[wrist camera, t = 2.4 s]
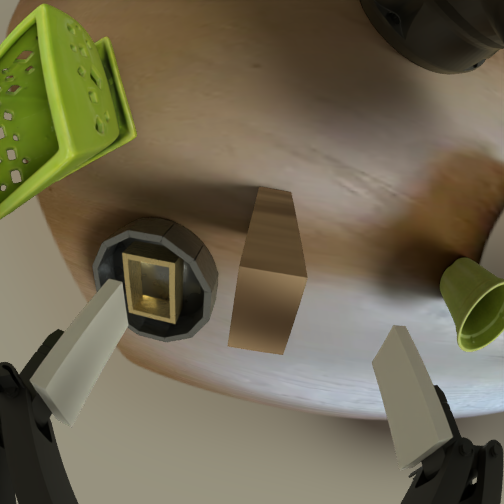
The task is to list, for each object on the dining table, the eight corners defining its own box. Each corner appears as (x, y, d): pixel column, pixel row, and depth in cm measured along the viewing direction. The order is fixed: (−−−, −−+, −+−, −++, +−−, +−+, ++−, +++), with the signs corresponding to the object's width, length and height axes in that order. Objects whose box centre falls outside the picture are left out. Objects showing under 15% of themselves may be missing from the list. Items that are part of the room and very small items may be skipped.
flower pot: (159, 140, 24) (75, 162, 13) (65, 189, 27) (-12, 231, 15) (124, 27, 18) (42, -5, 7) (37, 91, 21) (-43, 101, 10)
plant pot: (419, 311, 30) (446, 358, 23) (437, 244, 26) (477, 285, 18) (470, 304, 29) (498, 344, 22) (489, 244, 25) (528, 278, 17)
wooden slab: (259, 186, 25) (239, 266, 12) (291, 192, 25) (307, 278, 12) (251, 235, 28) (227, 346, 14) (281, 240, 28) (282, 354, 14)
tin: (107, 210, 27) (87, 223, 24) (224, 228, 27) (216, 245, 24) (117, 305, 34) (103, 324, 30) (213, 328, 34) (207, 351, 30)
